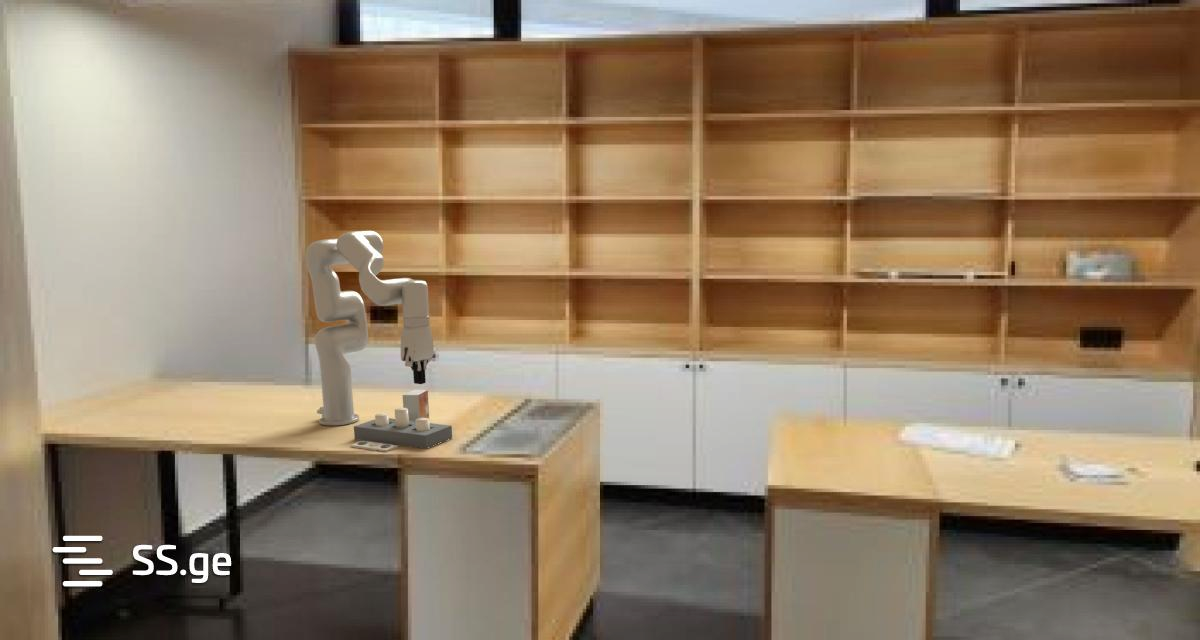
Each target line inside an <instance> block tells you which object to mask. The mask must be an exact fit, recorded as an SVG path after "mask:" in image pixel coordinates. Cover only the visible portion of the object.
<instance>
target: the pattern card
mask: <svg viewBox="0 0 1200 640" xmlns="http://www.w3.org/2000/svg"><path fill="white" fill-rule="evenodd" d="M349 446H350V448H357V449H365V450H370V451H376V450H379V451H378V452H383V451H388V452H390V451H392V450H391V449H393V450H395V449H397V447H398V448H399V445H394V444H386V443H379V442H372V441H364V440H359V441H357V442H354V443H352V444H349ZM394 448H395V449H394ZM389 450H390V451H389Z"/></svg>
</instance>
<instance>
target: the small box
mask: <svg viewBox="0 0 1200 640" xmlns="http://www.w3.org/2000/svg"><path fill="white" fill-rule="evenodd" d="M429 406H430V404H429V390H428V389H412V390H410V391H409V392H405V393H404V394H402V408H408V416H409V421H416V419H419V418H429V419H430V409H429Z"/></svg>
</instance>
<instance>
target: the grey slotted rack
mask: <svg viewBox="0 0 1200 640" xmlns="http://www.w3.org/2000/svg"><path fill="white" fill-rule="evenodd" d="M353 435H354V436H353V437H354V440H358V441H369V442H376V443H383V444H391V445H394V444H396V445H398V446H401V445H403V446H402V447H409V446H412V447H411V448H416V447H421V448H420V449H423V448H428V447H430V448H432V447H431V446H433V445H435V444H438V443H440V442H443V441H445V442H447V441H446V440H448V439H450V440H452V439H453V426H452V425H449V424H448V425H447V424H441V423H431V422H430V429H429V430H427V431H417V430H416V421H409V427H407V428H404V429H401V428H396V425H395V418H390V417H389V424H388V425H385V426H376V423H375V419H373V420H369V421H366V422H363V423H360V424H357V425H354V426H353ZM451 438H452V439H451ZM448 441H449V440H448ZM443 443H444V442H443ZM440 444H441V443H440ZM438 445H439V444H438ZM435 446H436V445H435ZM433 447H434V446H433ZM428 449H429V448H428Z"/></svg>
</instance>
